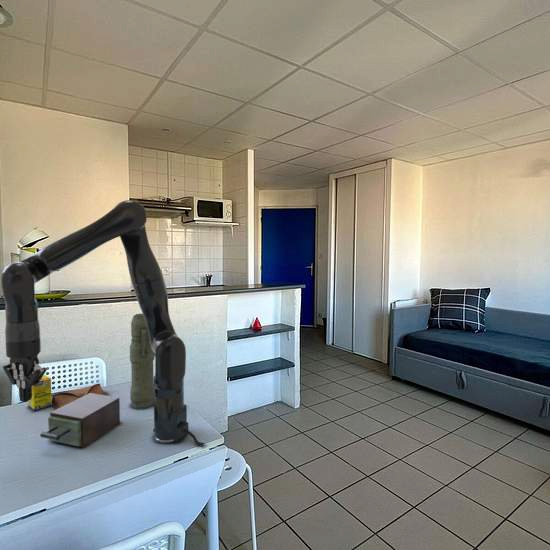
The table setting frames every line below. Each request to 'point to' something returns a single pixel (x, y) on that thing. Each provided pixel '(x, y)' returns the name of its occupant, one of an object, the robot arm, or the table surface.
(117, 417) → the cabinet
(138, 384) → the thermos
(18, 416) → the table surface
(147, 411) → the table surface
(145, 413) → the table surface
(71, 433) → the drawer
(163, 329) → the robot arm
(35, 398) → the supplement box
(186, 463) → the table surface
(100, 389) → the sunglasses case
